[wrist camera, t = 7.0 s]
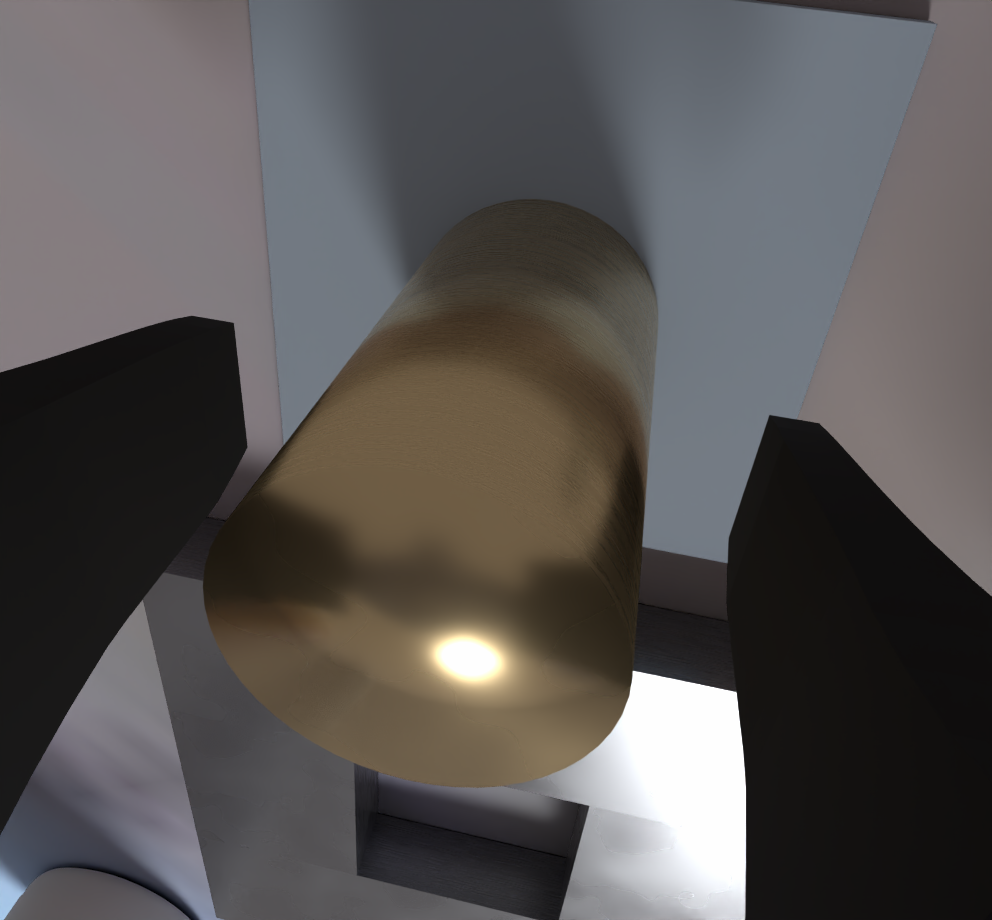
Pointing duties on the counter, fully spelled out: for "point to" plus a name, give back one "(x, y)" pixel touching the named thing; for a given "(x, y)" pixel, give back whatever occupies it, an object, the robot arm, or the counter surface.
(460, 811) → the counter surface
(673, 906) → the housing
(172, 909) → the pill bottle
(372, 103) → the mat
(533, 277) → the end plug
